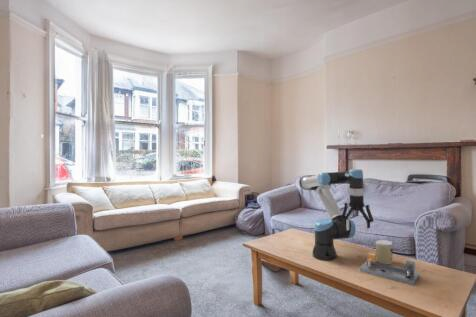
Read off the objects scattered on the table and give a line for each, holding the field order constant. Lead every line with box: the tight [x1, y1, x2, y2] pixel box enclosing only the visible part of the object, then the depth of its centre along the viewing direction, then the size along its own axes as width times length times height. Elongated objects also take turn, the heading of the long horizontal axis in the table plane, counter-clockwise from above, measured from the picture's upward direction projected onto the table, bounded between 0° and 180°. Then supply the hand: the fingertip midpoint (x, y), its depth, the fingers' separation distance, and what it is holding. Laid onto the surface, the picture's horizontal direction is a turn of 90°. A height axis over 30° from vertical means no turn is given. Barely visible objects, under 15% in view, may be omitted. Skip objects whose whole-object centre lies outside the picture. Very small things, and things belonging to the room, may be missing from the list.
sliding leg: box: [366, 252, 378, 267], centre depth 154 cm, size 4×8×6 cm, turn 138°
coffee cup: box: [375, 239, 394, 265], centre depth 162 cm, size 9×9×12 cm
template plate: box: [359, 259, 419, 286], centre depth 147 cm, size 26×13×8 cm, turn 48°
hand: (357, 231), depth 160 cm, fingers open, 10 cm apart
